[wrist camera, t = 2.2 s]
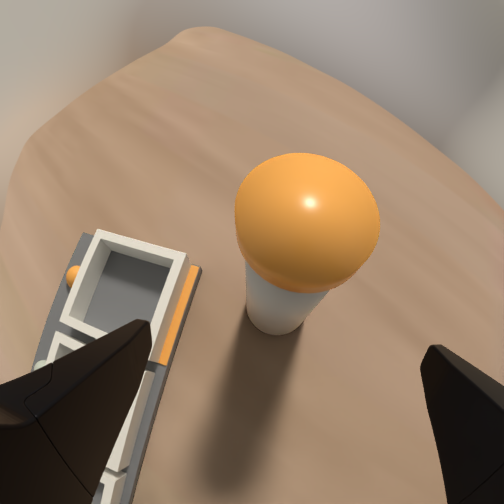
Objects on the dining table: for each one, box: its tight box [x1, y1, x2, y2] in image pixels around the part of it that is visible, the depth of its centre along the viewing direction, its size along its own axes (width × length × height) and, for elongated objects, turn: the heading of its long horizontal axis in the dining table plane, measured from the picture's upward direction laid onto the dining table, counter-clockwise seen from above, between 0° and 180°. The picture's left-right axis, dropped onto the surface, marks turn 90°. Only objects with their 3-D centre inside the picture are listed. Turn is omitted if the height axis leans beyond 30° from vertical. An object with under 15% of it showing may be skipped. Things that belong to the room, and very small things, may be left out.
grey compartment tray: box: [31, 229, 202, 504], centre depth 16 cm, size 22×10×3 cm, turn 165°
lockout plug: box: [235, 153, 380, 335], centre depth 15 cm, size 5×5×12 cm
